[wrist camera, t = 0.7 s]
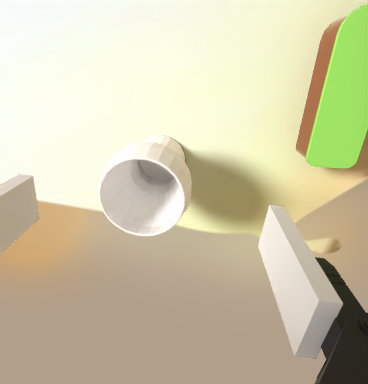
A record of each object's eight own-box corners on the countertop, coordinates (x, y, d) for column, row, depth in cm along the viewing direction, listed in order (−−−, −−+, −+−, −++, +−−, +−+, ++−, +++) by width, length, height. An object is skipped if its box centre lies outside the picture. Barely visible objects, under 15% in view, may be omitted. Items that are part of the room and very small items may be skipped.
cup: (205, 143, 40) (207, 178, 27) (177, 199, 45) (167, 253, 31) (142, 113, 39) (109, 133, 25) (119, 173, 43) (81, 218, 30)
